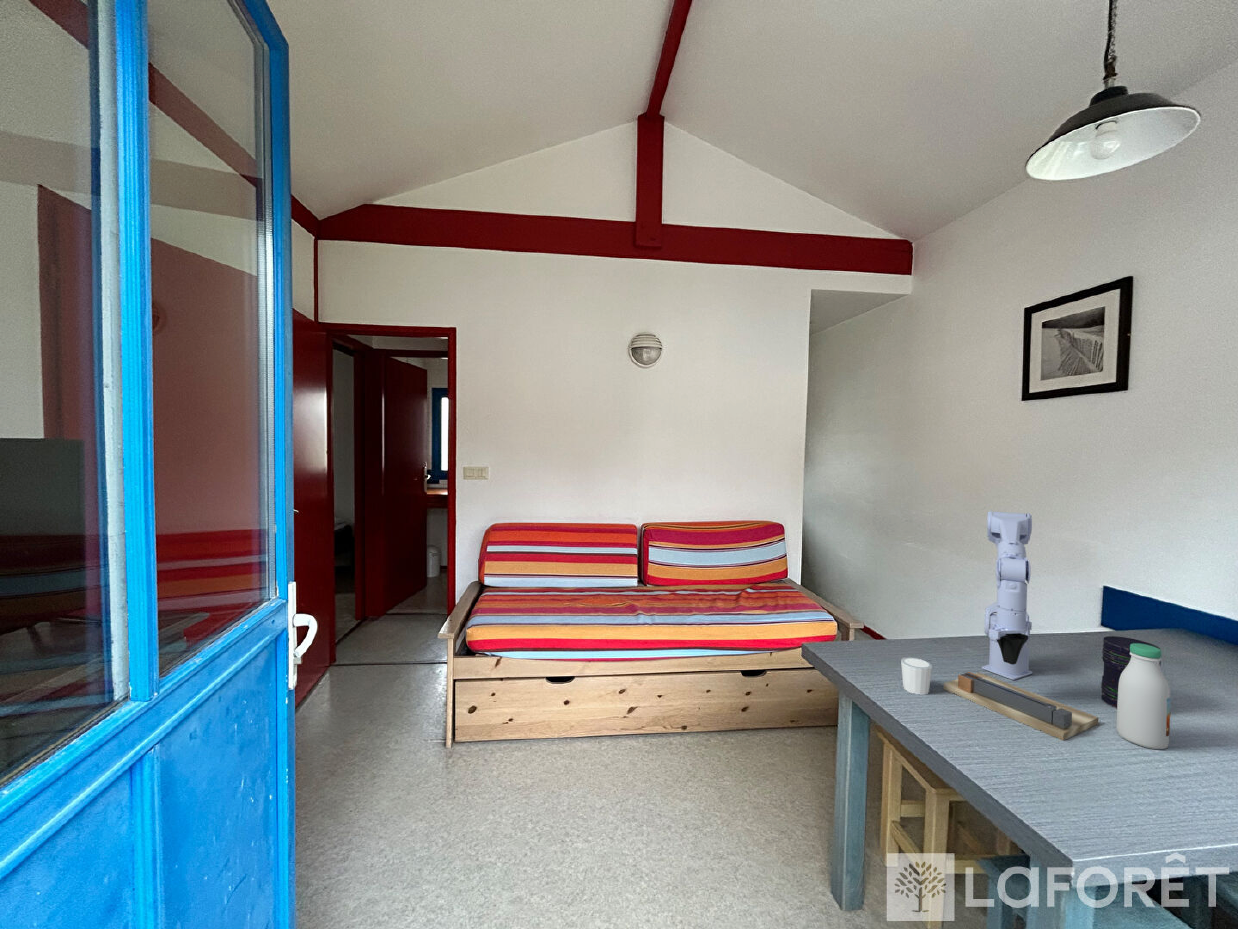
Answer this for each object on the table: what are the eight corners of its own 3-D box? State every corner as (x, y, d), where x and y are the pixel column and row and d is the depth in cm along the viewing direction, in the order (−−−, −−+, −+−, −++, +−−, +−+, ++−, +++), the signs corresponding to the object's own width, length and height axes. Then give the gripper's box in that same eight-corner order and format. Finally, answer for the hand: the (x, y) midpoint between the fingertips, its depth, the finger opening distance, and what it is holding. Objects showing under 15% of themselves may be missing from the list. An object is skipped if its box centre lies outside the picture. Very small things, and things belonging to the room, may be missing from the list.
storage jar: (1101, 691, 129) (1103, 633, 128) (1158, 705, 122) (1160, 643, 121) (1099, 705, 122) (1101, 643, 121) (1159, 720, 115) (1162, 655, 114)
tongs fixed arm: (967, 684, 129) (967, 672, 129) (1071, 726, 109) (1072, 712, 109) (957, 687, 127) (958, 675, 127) (1061, 730, 108) (1062, 716, 108)
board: (978, 678, 136) (978, 672, 136) (1098, 724, 113) (1098, 717, 113) (943, 689, 129) (943, 683, 129) (1063, 740, 107) (1063, 733, 107)
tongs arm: (968, 683, 129) (969, 672, 129) (1059, 719, 112) (1059, 706, 112) (963, 685, 128) (963, 673, 128) (1053, 722, 111) (1053, 708, 111)
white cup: (936, 697, 125) (936, 669, 125) (905, 694, 127) (906, 667, 126) (925, 684, 132) (925, 658, 132) (896, 682, 133) (897, 656, 133)
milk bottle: (1160, 755, 102) (1164, 657, 101) (1109, 735, 109) (1113, 643, 108) (1175, 744, 106) (1178, 650, 105) (1125, 726, 112) (1128, 637, 112)
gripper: (1009, 599, 130) (1008, 651, 130) (976, 607, 123) (974, 661, 124) (1042, 607, 123) (1040, 662, 124) (1008, 615, 117) (1006, 673, 117)
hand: (1009, 662), depth 123 cm, fingers closed
